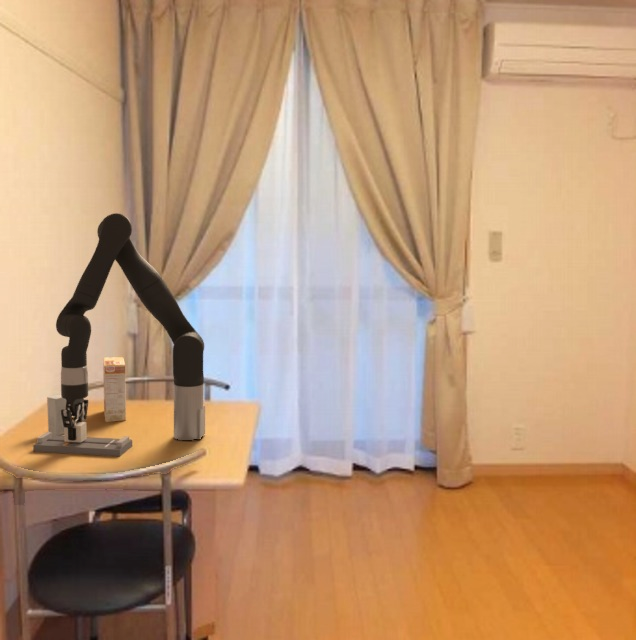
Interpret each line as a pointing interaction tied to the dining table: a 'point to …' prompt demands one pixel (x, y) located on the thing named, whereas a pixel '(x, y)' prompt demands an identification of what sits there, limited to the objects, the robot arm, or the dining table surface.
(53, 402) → the skincare box
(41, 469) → the dining table surface
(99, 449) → the fader board
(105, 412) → the coffeecake box
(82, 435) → the fader knob
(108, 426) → the dining table surface
